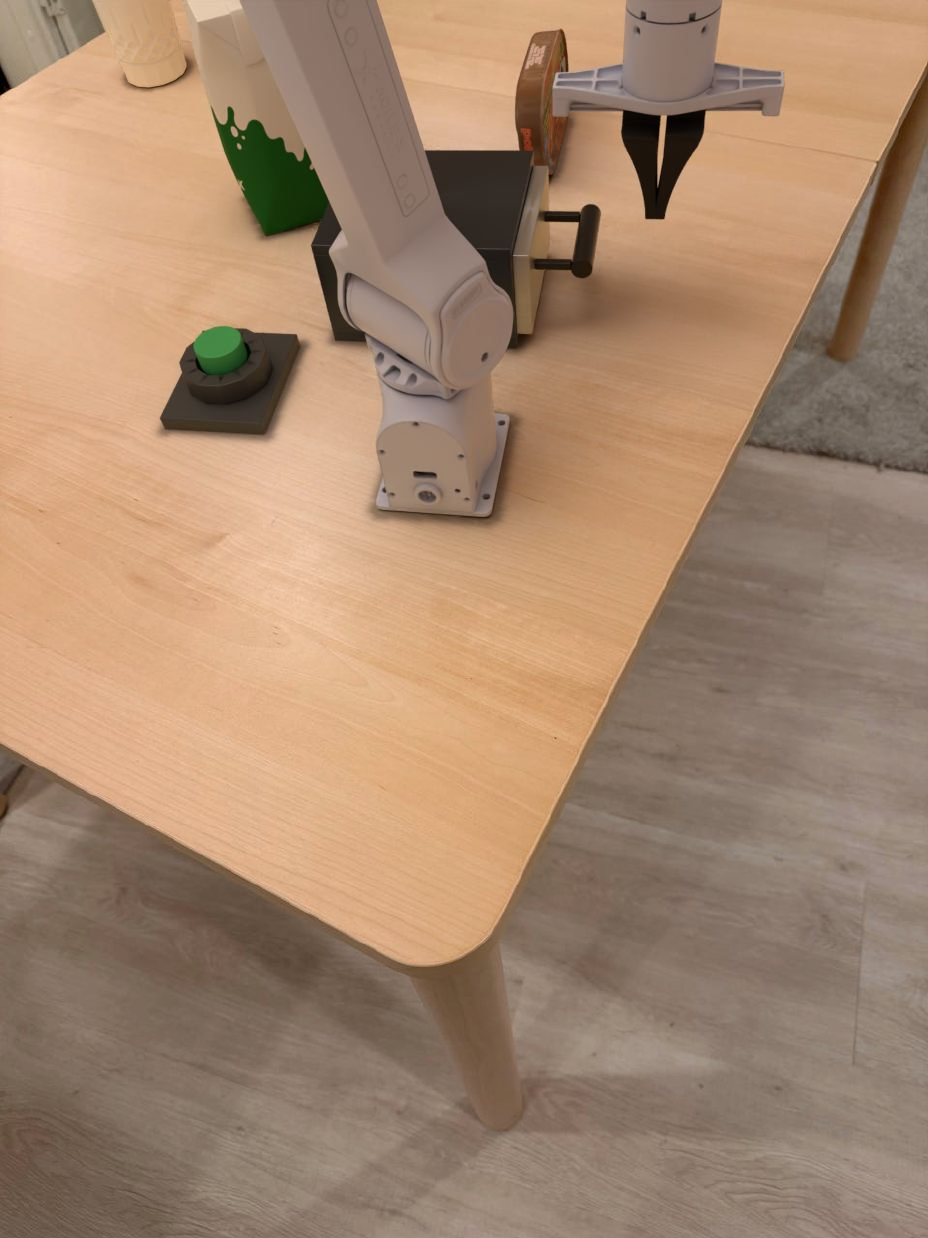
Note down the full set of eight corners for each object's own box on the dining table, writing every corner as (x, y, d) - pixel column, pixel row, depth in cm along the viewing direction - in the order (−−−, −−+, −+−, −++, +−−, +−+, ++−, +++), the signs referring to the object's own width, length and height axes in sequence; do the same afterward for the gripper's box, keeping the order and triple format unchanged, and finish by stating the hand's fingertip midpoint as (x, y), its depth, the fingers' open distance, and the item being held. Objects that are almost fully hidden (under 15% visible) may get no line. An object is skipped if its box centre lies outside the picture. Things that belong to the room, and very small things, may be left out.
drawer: (602, 245, 76) (604, 165, 71) (588, 336, 70) (590, 257, 65) (392, 241, 79) (379, 164, 74) (362, 328, 73) (345, 251, 68)
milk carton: (353, 216, 84) (300, -38, 67) (257, 245, 82) (178, -5, 66) (327, 169, 88) (271, -78, 72) (235, 196, 87) (158, -49, 71)
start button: (239, 377, 69) (232, 358, 67) (194, 375, 69) (186, 356, 68) (253, 344, 71) (247, 326, 69) (209, 343, 71) (202, 324, 70)
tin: (548, 193, 83) (546, 97, 76) (514, 192, 83) (509, 96, 76) (571, 105, 91) (572, 10, 84) (540, 105, 91) (537, 11, 84)
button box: (264, 435, 69) (253, 405, 66) (165, 429, 70) (150, 399, 68) (300, 345, 74) (291, 314, 72) (207, 342, 75) (194, 311, 73)
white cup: (109, 88, 102) (68, -14, 94) (142, 53, 106) (107, -48, 98) (172, 92, 100) (136, -12, 92) (204, 56, 104) (172, -46, 96)
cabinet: (536, 249, 78) (533, 149, 71) (516, 348, 71) (510, 249, 64) (370, 245, 81) (351, 149, 74) (335, 341, 74) (310, 245, 67)
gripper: (797, -31, 57) (759, 180, 68) (560, -24, 59) (561, 178, 70) (800, 24, 53) (759, 238, 64) (547, 28, 55) (550, 234, 66)
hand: (655, 211), depth 67 cm, fingers closed
